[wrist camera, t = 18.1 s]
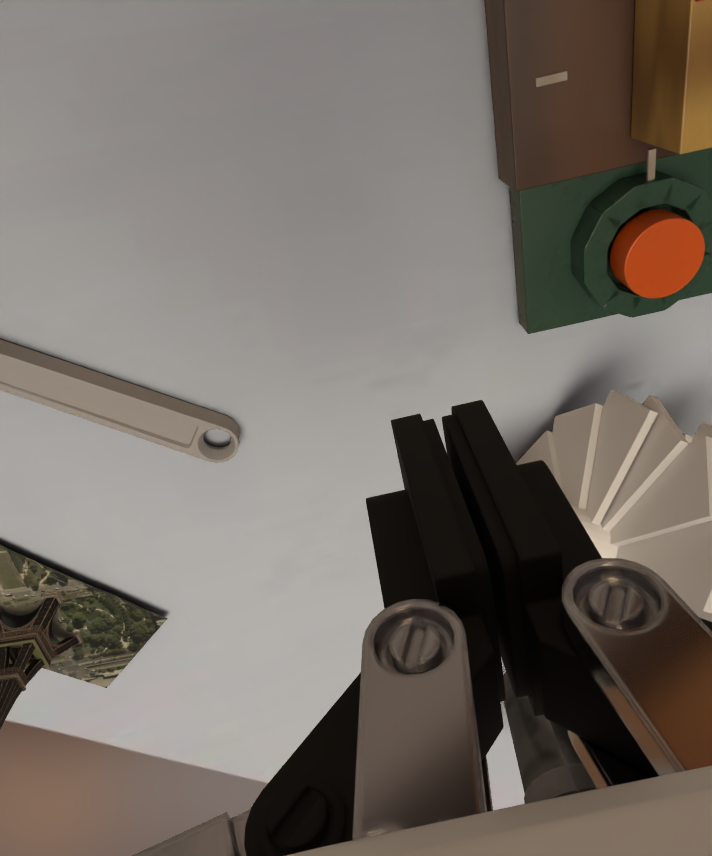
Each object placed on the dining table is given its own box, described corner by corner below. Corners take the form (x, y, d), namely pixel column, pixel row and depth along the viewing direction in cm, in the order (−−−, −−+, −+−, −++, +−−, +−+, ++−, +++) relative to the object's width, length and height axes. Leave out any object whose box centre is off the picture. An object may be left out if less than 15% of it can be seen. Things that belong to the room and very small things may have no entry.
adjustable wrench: (248, 420, 40) (247, 436, 39) (204, 495, 43) (201, 512, 41) (-226, 214, 31) (-251, 224, 30) (-244, 323, 34) (-268, 337, 33)
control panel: (500, 195, 34) (518, 210, 32) (480, -53, 29) (500, -60, 26) (746, 138, 34) (785, 149, 31) (776, -124, 28) (827, -139, 26)
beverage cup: (585, 661, 56) (717, 942, 39) (538, 712, 59) (640, 992, 42) (514, 642, 53) (621, 931, 36) (469, 696, 57) (548, 984, 40)
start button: (608, 294, 35) (623, 306, 33) (609, 219, 32) (625, 228, 31) (684, 277, 34) (702, 289, 33) (689, 200, 32) (709, 209, 31)
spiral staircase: (505, 364, 44) (791, 470, 50) (420, 608, 45) (711, 685, 51) (698, 373, 26) (1106, 536, 32) (552, 777, 27) (976, 865, 33)
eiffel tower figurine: (173, 611, 48) (139, 794, 37) (106, 688, 52) (57, 875, 40) (-35, 522, 42) (-151, 708, 31) (-94, 616, 46) (-217, 811, 34)
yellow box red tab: (672, 128, 30) (732, 145, 26) (630, 137, 30) (682, 156, 26) (683, -41, 27) (753, -51, 23) (635, -30, 27) (697, -38, 23)
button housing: (518, 322, 38) (538, 348, 35) (508, 182, 34) (530, 198, 31) (722, 276, 38) (759, 298, 35) (737, 129, 34) (781, 140, 31)
